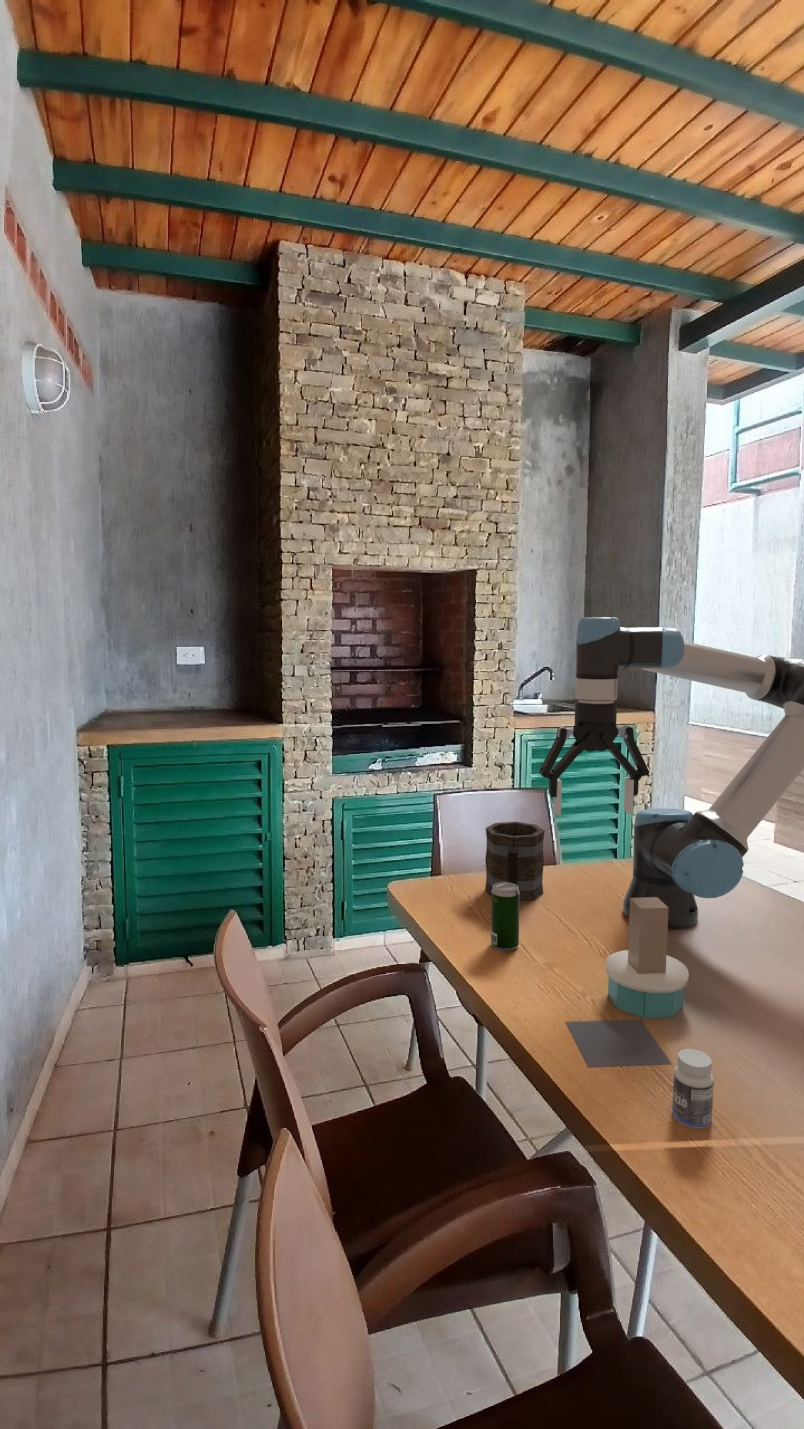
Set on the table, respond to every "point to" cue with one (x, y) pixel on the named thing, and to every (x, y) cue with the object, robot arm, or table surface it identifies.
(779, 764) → the robot arm
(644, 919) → the lid
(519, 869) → the mug
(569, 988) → the table surface
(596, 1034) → the mat
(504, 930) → the beer can
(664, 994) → the bowl
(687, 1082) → the pill bottle
